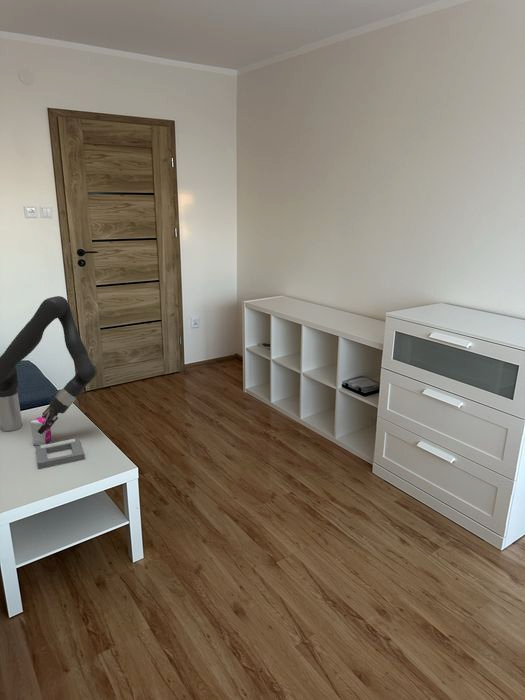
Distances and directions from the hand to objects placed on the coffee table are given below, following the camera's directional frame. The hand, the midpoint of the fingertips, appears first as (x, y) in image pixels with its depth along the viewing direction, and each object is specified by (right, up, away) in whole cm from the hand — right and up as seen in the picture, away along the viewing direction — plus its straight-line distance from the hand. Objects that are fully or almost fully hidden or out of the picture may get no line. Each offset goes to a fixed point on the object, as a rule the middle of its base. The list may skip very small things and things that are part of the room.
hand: (38, 429), depth 219 cm
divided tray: (+13, -10, -9) cm, 19 cm away
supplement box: (+1, -7, +3) cm, 7 cm away
